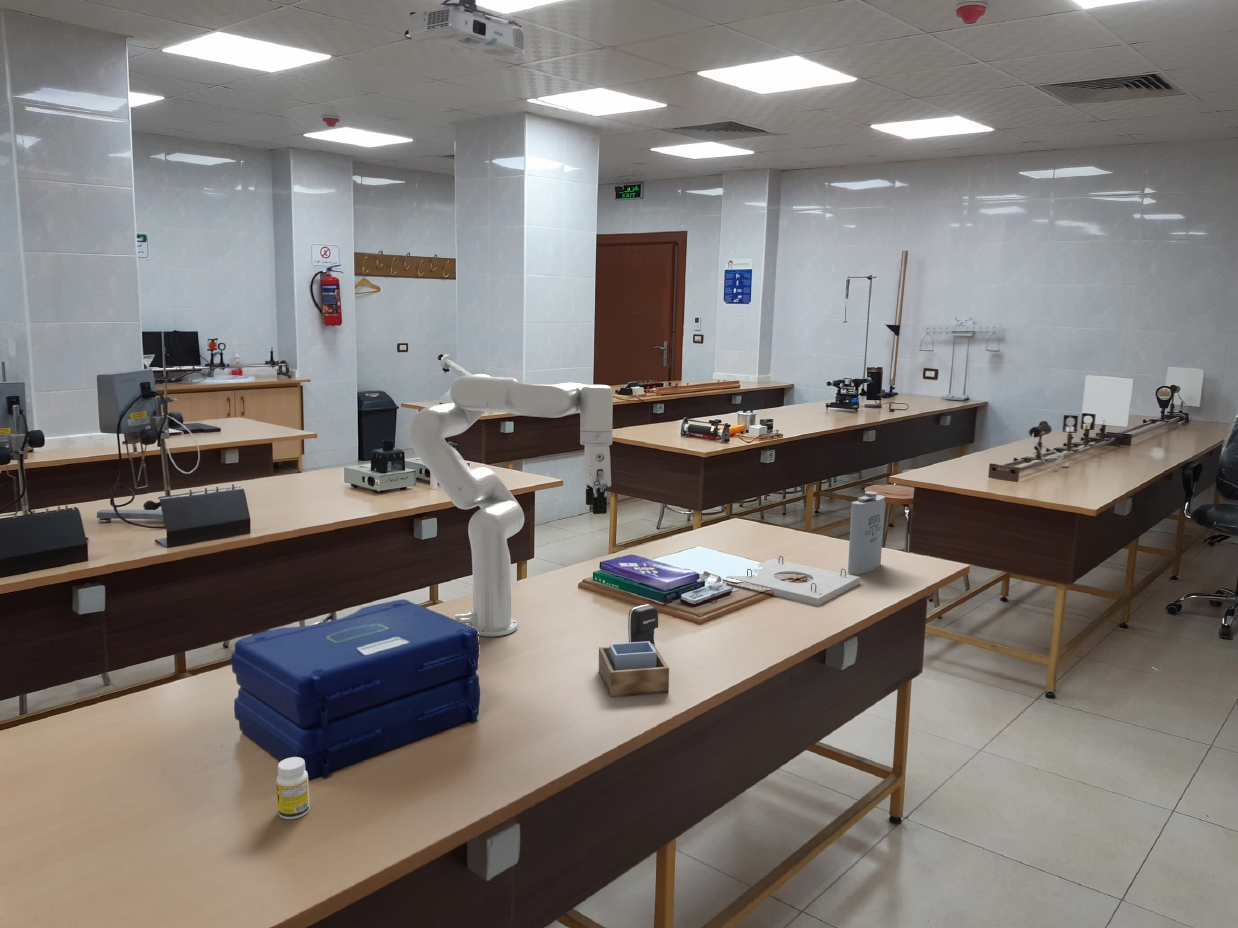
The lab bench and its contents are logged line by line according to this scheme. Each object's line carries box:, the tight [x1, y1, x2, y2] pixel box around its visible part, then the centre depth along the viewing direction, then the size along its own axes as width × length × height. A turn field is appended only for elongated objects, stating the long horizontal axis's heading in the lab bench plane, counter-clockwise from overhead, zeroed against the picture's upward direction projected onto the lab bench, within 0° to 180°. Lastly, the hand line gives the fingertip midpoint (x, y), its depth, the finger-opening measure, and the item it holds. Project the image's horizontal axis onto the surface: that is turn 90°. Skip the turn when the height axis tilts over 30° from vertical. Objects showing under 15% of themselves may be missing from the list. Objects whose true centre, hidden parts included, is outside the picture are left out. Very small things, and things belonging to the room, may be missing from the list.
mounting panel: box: [726, 555, 861, 607], centre depth 258 cm, size 27×5×30 cm
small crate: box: [609, 641, 657, 671], centre depth 187 cm, size 9×6×7 cm
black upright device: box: [627, 603, 659, 647], centre depth 203 cm, size 7×4×11 cm, turn 128°
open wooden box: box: [598, 643, 670, 698], centre depth 188 cm, size 12×14×6 cm
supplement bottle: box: [276, 756, 311, 820], centre depth 137 cm, size 5×5×8 cm
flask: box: [847, 490, 886, 576], centre depth 273 cm, size 17×5×25 cm, turn 138°
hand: (595, 509), depth 205 cm, fingers open, 9 cm apart
